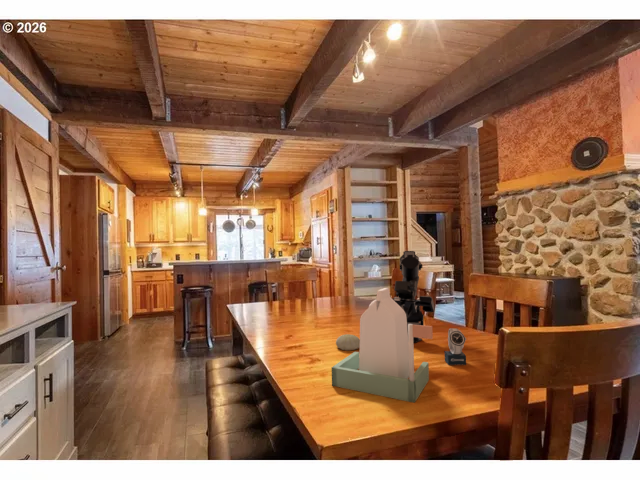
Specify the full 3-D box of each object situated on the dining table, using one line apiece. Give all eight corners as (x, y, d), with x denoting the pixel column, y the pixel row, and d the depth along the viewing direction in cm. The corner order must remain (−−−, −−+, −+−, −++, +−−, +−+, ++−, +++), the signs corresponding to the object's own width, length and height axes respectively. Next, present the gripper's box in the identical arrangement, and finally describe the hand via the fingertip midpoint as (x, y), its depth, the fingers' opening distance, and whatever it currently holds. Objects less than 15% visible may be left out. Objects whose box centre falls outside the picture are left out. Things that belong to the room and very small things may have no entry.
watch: (450, 367, 109) (449, 332, 109) (443, 358, 117) (442, 326, 117) (468, 367, 108) (467, 332, 108) (460, 358, 116) (459, 326, 116)
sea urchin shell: (362, 347, 126) (346, 331, 127) (347, 361, 127) (331, 345, 128) (364, 340, 135) (349, 325, 136) (350, 353, 136) (335, 338, 137)
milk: (398, 389, 93) (395, 293, 93) (358, 381, 99) (356, 290, 99) (410, 374, 103) (408, 287, 103) (374, 368, 109) (372, 286, 109)
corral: (355, 367, 110) (353, 307, 111) (445, 382, 97) (443, 314, 97) (331, 385, 96) (330, 317, 97) (433, 406, 83) (431, 327, 83)
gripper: (378, 271, 125) (367, 307, 115) (431, 272, 116) (424, 311, 106) (386, 290, 132) (376, 325, 122) (437, 292, 122) (431, 331, 113)
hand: (400, 323), depth 115 cm, fingers closed
